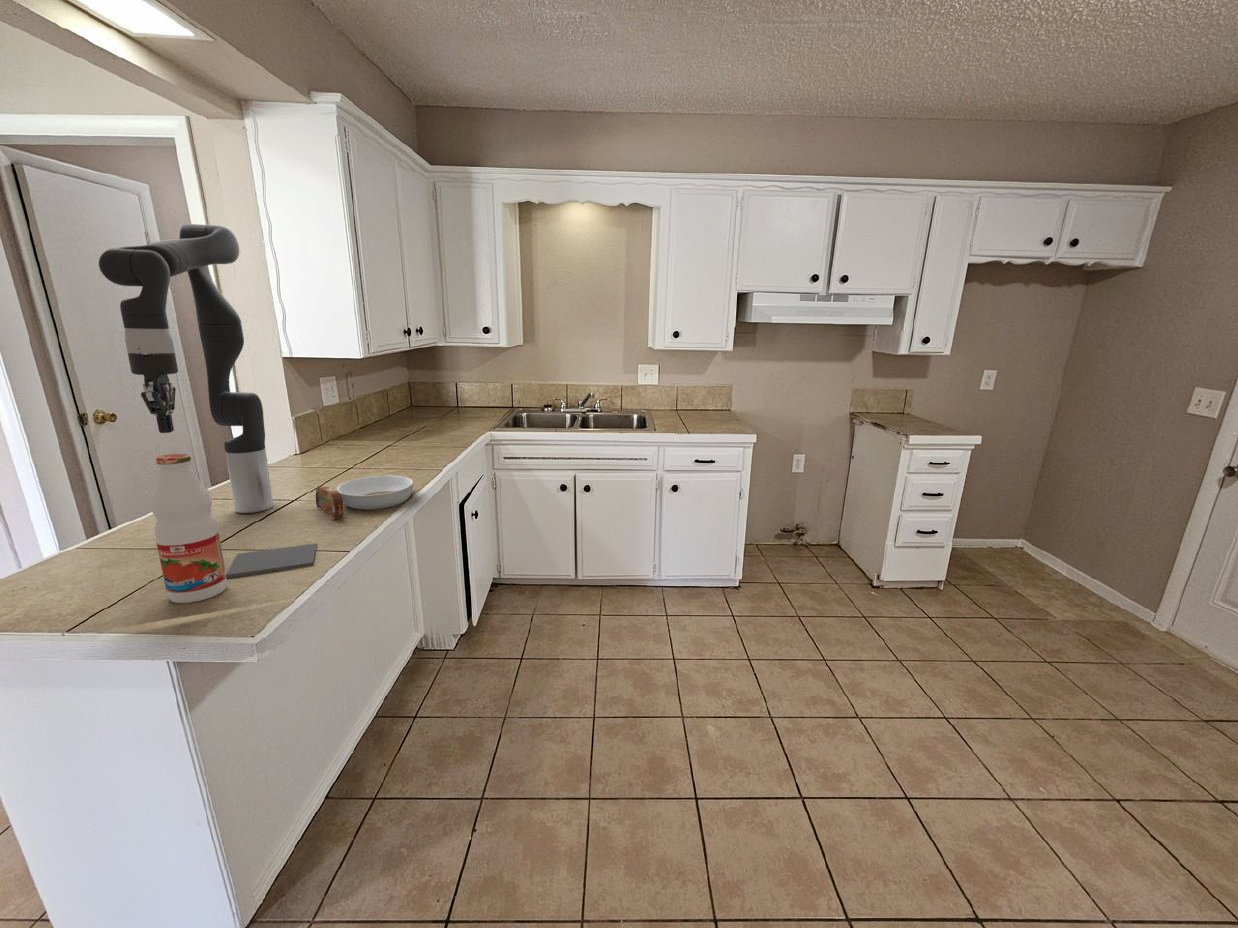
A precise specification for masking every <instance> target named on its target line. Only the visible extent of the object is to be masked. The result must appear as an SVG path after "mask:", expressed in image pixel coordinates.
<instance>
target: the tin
mask: <svg viewBox="0 0 1238 928" xmlns="http://www.w3.org/2000/svg"><path fill="white" fill-rule="evenodd" d="M315 503H316V509H317V508H320V509H321V510H320V509H319V510H320V511H322V512H323V511H324V512H323V513H325V514H326V513H327V514H328V516H329V517H330V516H331V517H330V518H331V519H332V520H333V521H335V519H336V520H340V519H339V518H341V519H343V518H344V503H343V499H342V496H341V494H340V493H339V492H337V489H336V490H335V489H334V488H332V487H330V486H321V487H320V486H319V487H317V489H316V490H315ZM327 514H326V515H327ZM342 517H343V518H342ZM333 518H334V519H333Z"/></svg>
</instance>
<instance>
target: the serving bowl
mask: <svg viewBox="0 0 1238 928" xmlns="http://www.w3.org/2000/svg"><path fill="white" fill-rule="evenodd" d="M413 489H414V481H413V479H412V478H410V477H406V476H402V475H401V476H400V475H388V474H387V475H373V476H364V477H359V478H354V479H351V480H348V481H345V482H343V483H341V484H339V485H338V486H337V488H336V491H337V492H339V493H340V494H341V496H342V499H343V505H345V506H347V507H349V508H351V509H354V508H355V509H356V510H361V509H364V511H366V510H379V509H385V508H391V507H395V506H397V505H399V504H402V503H404V502H406V501H407V500H408V499H409V498H410V497H411V495H412V493H413ZM380 492H387V493H380ZM373 493H380V494H373ZM368 494H369V495H368Z"/></svg>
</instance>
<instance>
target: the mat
mask: <svg viewBox="0 0 1238 928" xmlns="http://www.w3.org/2000/svg"><path fill="white" fill-rule="evenodd" d="M317 548H318V543H317V542H316V543H310V544H309V543H308V544H302V545H295V546H294V545H293V546H286V547H278V548H270V549H263V550H254V551H248V552H241V553H237V554H236V556H235V558H234V559H233V561H232V563H231V565H230V566H229V569H228V570H227V571H226V577H227V579H231V578H239V577H247V576H253V575H259V574H266V573H273V572H279V571H281V572H282V571H286V570H287V571H288V570H293V568H294V569H298V567H300V568H304V567H303V566H306V567H309V566H308V565H311V566H314V564H315V559H316V553H317Z"/></svg>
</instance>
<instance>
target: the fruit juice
mask: <svg viewBox="0 0 1238 928" xmlns="http://www.w3.org/2000/svg"><path fill="white" fill-rule="evenodd" d="M155 460H156V461H155V462H156V465H157V467H158V468H159V475H158V480H157V482H156V483H157V484H156V487H155V489H154V491H153V493H152V495H151V497H150V500H149V507H150V508H149V509H150V511H151V513H152V515H153V517H154V518H155V520H156V521H155V525H154V538H155V542H156V543H155V544H156V547H157V548H156V549H157V552H158V556H159V557H158V558H159V562H160V563H159V564H160V566H161V567H160V568H161V573H162V576H163V577H162V578H163V581H164V587H165V591H166V595H167V598H168V600H169V601H170V602H172V603H175V604H190V603H191V604H192V603H197V602H201V601H205V600H209V599H211V598H214V597H216V596H218V595H220V594H221V593H223V592H224V591H225V590H226V589H227V587H228V578H227V577H226V573H227V571H226V566H225V561H224V555H223V549H222V543H221V537H220V531H219V526H218V522H217V519H216V517H215V515H214V514H213V513H212V505H213V497H212V494H211V491H210V490H209V489H208V488H206V486H205V485H203V484H202V483H201V482H200V480H199V478H198V477H197V476H196V474H195V472H194V471H193V469H192V467H191V465H190V464H191V463H192V458H191V455H190V454H189V453H171V454H169V453H168V454H163V455H159V456H157V457H156V459H155Z"/></svg>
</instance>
